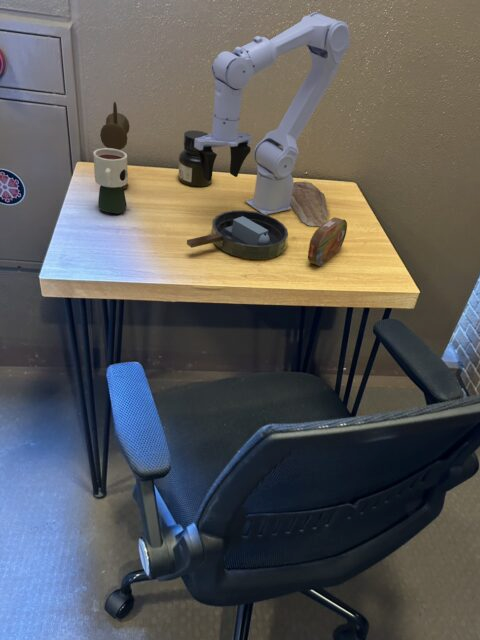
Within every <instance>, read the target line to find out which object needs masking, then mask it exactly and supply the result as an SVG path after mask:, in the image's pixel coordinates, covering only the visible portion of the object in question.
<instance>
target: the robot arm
mask: <svg viewBox="0 0 480 640" xmlns="http://www.w3.org/2000/svg"><path fill="white" fill-rule="evenodd" d="M252 40H253V41H250V42H248V43H247V44H244V45H243V46H236V47H234V50H233V51H232V52H231V51H227V50H225V51H222V52H220V53H219V54H217V56H216V57H215V58H214V61H213V64H211V65H210V70H211V74H212V76H213V78H214V87H215V88H214V100H213V113H212V127H211V133H208V134H209V135H206V136H203V137H200V138H195V145H194V147H195V149H196V151H197V154H198V156H199V159H200V162H201V165H202V170H203V177H204V179H206V180H207V181H211V182H212V178H213V170H214V166H215V162H216V158H217V156H218V154H217V153H216V152H214V150H213V148H220V147H221V148H222V147H229V149H230V162H229V163H230V165H229V174H230V175H231V176H233V177H235V178H237V177H238V176H239V173H240V170H241V167H242V166H243V164H244V161H245V160H246V158H247V157H248V155H250V153H251V149H252V148H251V147H250V145H252V143H253V135H252V134H250V133H248V132H239V127H240V118H241V109H242V100H243V90H244V89H245V87H246V86H247V85H248V83H249V82H250V80H251V78H253V77H254V76H256V75H257V74H260V73H262V72H263V71H266V70H268V69H270V68H271V67H273V66H274V65H275V63H276V59H277V57H281V56H282V55H285V54H287V53H290V52H292V51H295V50H296V49H300V48H301V47H304V46H306V49H307V51H308V54H309V56H310V58H311V65H312V67H311V69H310V70H309V72H308V74H307V75H306V77H305V79H304V81H303V82H302V84H301V86H300V88H299V90H298V91H297V93H296V95H295V96H294V98H293V100H292V102H291V104H290V105H289V107H288V108H287V110H286V112H285V114H284V116H283V117H282V119H281V121H280V123H279V124H278V126H277V128H276V129H273V130H270V131H268V132H266V134H265V136H264V138H263V139H261V140H260V141H259V142H258V143H257V144H256V146H255V147H254V150H253V160H254V162H255V164H256V169H257V170H256V171H257V172H256V178H255V187H254V193H253V198H251V199H247V200H245V203H246V204H247V205H249V206H251V207H252V208H253V209H255V210H256V211H258V213H262V214H266V215H271V214H275V213H280V212H286V211H290V210H292V209H293V208H292V206H291V204H290V201H291V196H292V191H293V182H294V178H293V175H292V172H293V171H294V168H295V165H296V160H297V158H298V156H299V154H300V152H299V151H300V150H299V148H298V143H297V141H298V140H299V138H300V137H301V135H302V133H303V131H304V129H305V128H306V126H307V124H308V123H309V121H310V119H311V118H312V116H313V114H314V112H315V110H316V109H317V107H318V105H319V104H320V102H321V100H323V97H324V96H325V93H326V92H327V90H328V88H329V87H330V85H331V83H332V81H333V80H334V78H335V76H336V75H337V72H338V71H339V67H340V64H341V61H342V60H343V57H344V56H345V54H346V52H347V51H348V50H349V48H350V46H351V35H350V28H349V26H348V24H347V23H346V22H345V21H343V20H338V19H335V18H332V17H329V16H326V15H323V14H322V13H321V12H317V11H315V12H311V13H310V14H308V15H304V16H303V17H302V19H301V20H300V21H299V22H298V23H296V24H294V25H292V26H291V27H289V28H287V29H286V30H285V31H282V32H281V33H279V34H278V35H275V36H274V37H272V38H271V39H268V38H267V37H265V36H259V35H256V36H254V37H253V39H252Z"/></svg>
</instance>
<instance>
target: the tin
mask: <svg viewBox="0 0 480 640" xmlns="http://www.w3.org/2000/svg"><path fill="white" fill-rule="evenodd" d="M347 230H348V222H347V220H346V219H342V218H340V217H335V216H334V217H332V218H331V219H329V220H327V221H326V223H325V224H324V225H322V226H318V228H316V230H315V231H314V232H313V234H312V236H311V238H310V241H309V246H308V252H307V260H308V262H310V263H311V264H314V265H317V266H318V267H322V266H323V265H324V264H326V263H327V262H328V261H329V260H331V259H332V258H333V257H335V255H337V254H338V253H339V251H340V249H342V246H343V243H344V241H345V239H346V235H347Z"/></svg>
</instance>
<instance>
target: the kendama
mask: <svg viewBox="0 0 480 640" xmlns="http://www.w3.org/2000/svg"><path fill="white" fill-rule="evenodd" d="M112 105H113V106H112V113H110V114H108V115H107V117H106V118H105V124H104V125H103V126H102V127H101V129H100V134H99V136H100V141H101V142H102V145H103V146H104V147H105V148H113V149H118V150H121V151H122V149H125V147H126V146H127V144H128V133H129V132H130V126H131V125H130V122H129V119H128V118H127V116H125V114H122V113H119V112H118V106H117V102H116V101H114V102H113V103H112ZM128 182H129V181H128ZM128 182H127V184H126V185H124V186H122V187H123V189H124V190H125V189H127V188H128V187H129V183H128Z"/></svg>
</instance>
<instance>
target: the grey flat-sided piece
mask: <svg viewBox="0 0 480 640" xmlns="http://www.w3.org/2000/svg"><path fill="white" fill-rule="evenodd" d="M224 231H225V232H227V233H229V234H230V235H231V234H232V235H233V236H235V237H237V238H238V239H240V240H242V241H244V242H245V243H247V244H249V245H256V246H262V245H268V244H269V242H270V238H269V236H268V230H267V229H265V228H263V227H261V226H260V225H258V224H256V223H254V222H252V221H251V220H249V219H247V218H245V217H243V216H242V217H239V218H236V219H233V226H230V227H227V228H224Z"/></svg>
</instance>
